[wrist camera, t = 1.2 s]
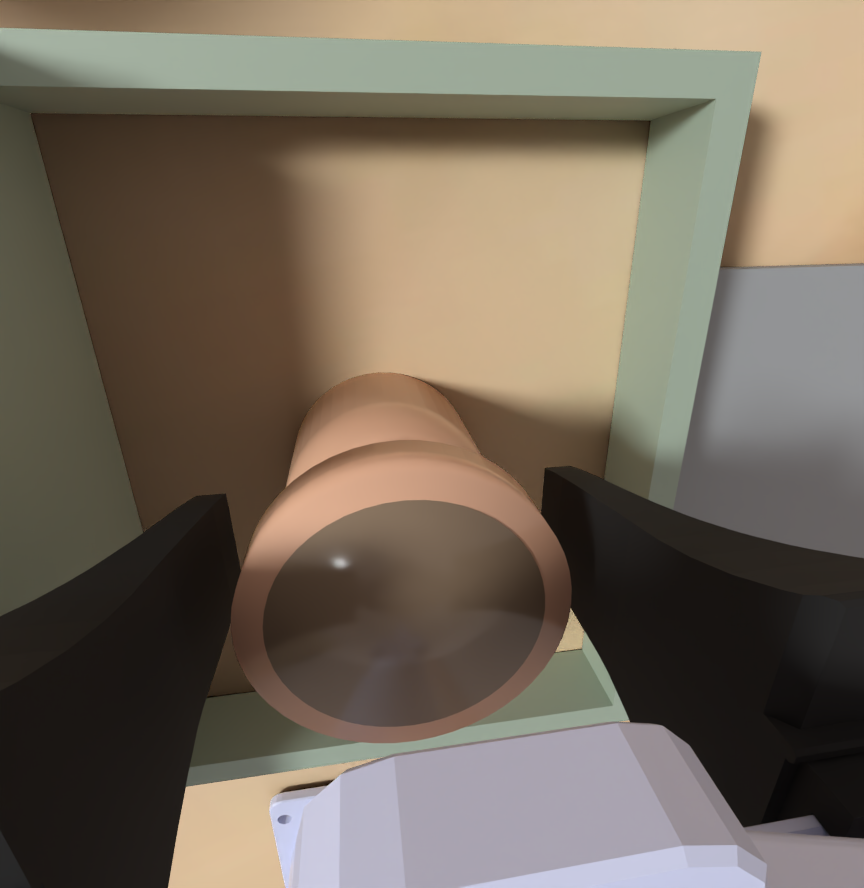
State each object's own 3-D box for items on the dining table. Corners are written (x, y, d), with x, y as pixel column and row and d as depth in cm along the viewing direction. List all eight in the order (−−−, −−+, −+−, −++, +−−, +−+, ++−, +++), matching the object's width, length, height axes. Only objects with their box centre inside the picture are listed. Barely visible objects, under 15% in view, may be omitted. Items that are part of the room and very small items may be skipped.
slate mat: (895, 560, 20) (910, 569, 20) (628, 590, 19) (637, 601, 18) (1017, 259, 16) (1040, 260, 15) (682, 268, 14) (695, 270, 14)
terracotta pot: (477, 531, 17) (558, 722, 10) (293, 548, 16) (258, 766, 10) (482, 353, 15) (589, 457, 8) (267, 363, 14) (198, 488, 7)
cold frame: (599, 662, 20) (695, 829, 14) (168, 720, 18) (90, 939, 12) (686, 82, 13) (945, -24, 7) (-26, 65, 11) (-423, -100, 5)
